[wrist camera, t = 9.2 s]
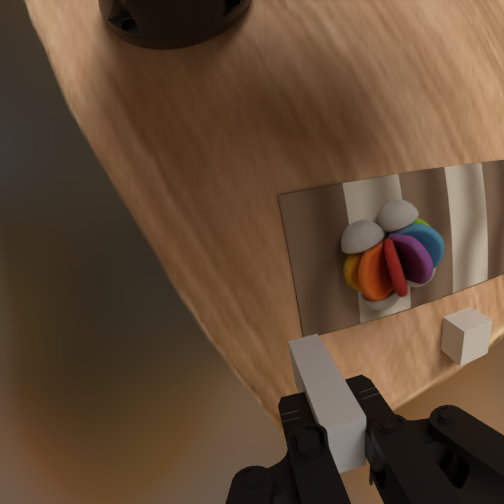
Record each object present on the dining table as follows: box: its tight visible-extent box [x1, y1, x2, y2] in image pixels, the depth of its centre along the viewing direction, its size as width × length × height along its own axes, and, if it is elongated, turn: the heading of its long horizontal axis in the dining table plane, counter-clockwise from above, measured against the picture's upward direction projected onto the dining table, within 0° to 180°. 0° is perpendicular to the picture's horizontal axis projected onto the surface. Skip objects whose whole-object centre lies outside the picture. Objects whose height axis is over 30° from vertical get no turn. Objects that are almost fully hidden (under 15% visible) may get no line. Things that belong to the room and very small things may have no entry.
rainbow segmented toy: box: [341, 200, 444, 310], centre depth 26 cm, size 8×10×7 cm
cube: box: [441, 307, 492, 366], centre depth 31 cm, size 4×4×4 cm
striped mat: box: [278, 160, 504, 337], centre depth 30 cm, size 36×14×1 cm, turn 102°
